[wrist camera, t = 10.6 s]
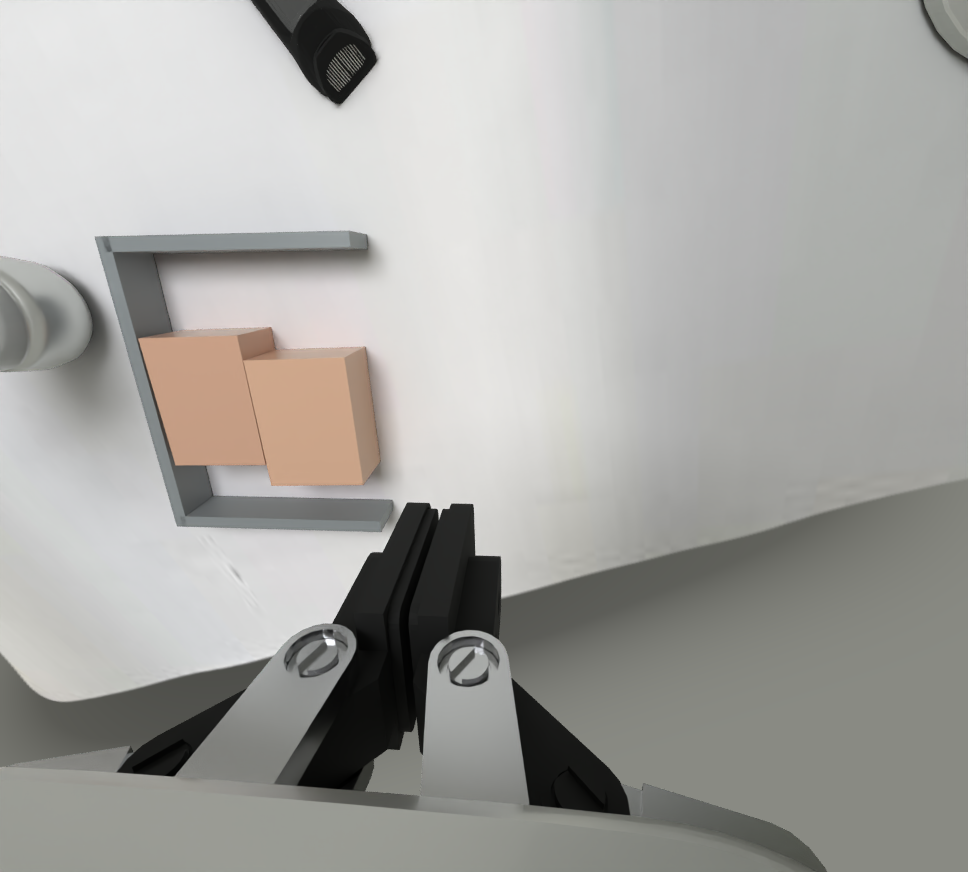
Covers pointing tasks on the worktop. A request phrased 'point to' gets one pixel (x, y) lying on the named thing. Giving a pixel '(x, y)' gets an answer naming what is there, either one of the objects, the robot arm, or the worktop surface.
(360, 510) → the organizer bay
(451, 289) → the worktop surface
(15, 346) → the plastic bottle
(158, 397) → the tile
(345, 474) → the tile
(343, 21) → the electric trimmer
